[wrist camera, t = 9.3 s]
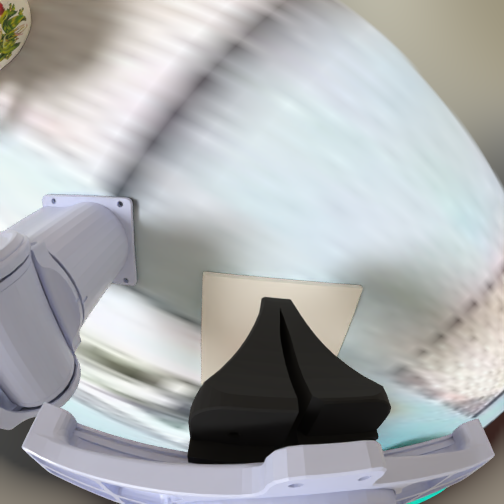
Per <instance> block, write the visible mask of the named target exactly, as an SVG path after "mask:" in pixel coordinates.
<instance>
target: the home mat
mask: <svg viewBox="0 0 504 504" xmlns="http://www.w3.org/2000/svg"><path fill="white" fill-rule="evenodd" d="M362 290H363V288H362V286H361V285H350V284H337V283H324V282H312V281H300V280H288V279H277V278H265V277H255V276H244V275H234V274H224V273H214V272H205V271H204V272H203V284H202V327H201V385H203V383H204V381H206V380H207V379H208V378H210V377H211V376H212V375H214V374H215V373H216V372H217V371H218V370H220V369H221V368H222V367H223V366H224V365H225V364H226V363H227V362H228V361H229V360H230V359H231V358H232V356H233V355H234V354H235V353H236V352H237V350H238V349H239V348H240V347H241V345H242V344H243V342H244V341H245V339H246V338H247V336H248V335H249V333H250V331H251V329H252V327H253V326H254V324H255V321H256V319H257V317H258V314H259V310H260V304H261V299H262V298H263V297H272V298H282V299H291V301H292V302H293V303H294V305H295V307H296V308H297V310H298V311H299V313H300V314H301V316H302V317H303V319H304V320H305V322H306V323H307V325H308V326H309V327H310V329H311V330H312V331H313V332H314V334H315V335H316V336H317V337H318V339H319V340H320V341H321V342H322V343H323V344H324V345H325V346H326V347H327V348H328V349H329V350H330V351H331V352H332V353H333V354H334V355H335V356H337V355H338V353H339V350H340V348H341V345H342V343H343V341H344V338H345V336H346V333H347V331H348V328H349V325H350V323H351V320H352V318H353V315H354V312H355V310H356V307H357V304H358V301H359V298H360V296H361V293H362Z"/></svg>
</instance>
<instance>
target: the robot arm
mask: <svg viewBox="0 0 504 504" xmlns="http://www.w3.org/2000/svg"><path fill="white" fill-rule="evenodd" d="M54 199H55V201H56V202H54ZM119 201H121V202H122V203H123V206H120V204H119ZM42 203H43V207H42V208H40V209H39V210H37V211H35V212H33V213H32V214H30V215H28V216H27V217H25V218H23V219H22V220H20V221H19V222H17V223H15V224H14V225H12V226H11V227H9V228H7V229H6V230H5V231H1V232H0V428H1V429H6V430H11V429H13V428H14V427H15V426H17V425H18V424H20V423H21V422H23V421H24V420H26V419H29V418H32V417H36V418H35V420H34V422H33V424H32V426H31V428H30V430H29V432H28V434H27V437H26V439H25V441H24V443H23V445H22V448H23V449H24V450H25V451H26V452H27V453H28V454H29V455H30V456H31V457H32V458H33V459H34V460H35V461H37V462H38V463H39V464H40V465H41V466H42V467H43V468H45V469H46V470H47V471H48V472H49V473H51V474H53V475H55V476H57V477H60V478H61V479H63V480H66V481H68V482H70V483H72V484H74V485H76V486H79V487H81V488H83V489H86V490H88V491H90V492H92V493H95V494H97V495H100V496H102V497H105V498H107V499H110V500H112V501H115V502H118V503H121V504H407V503H410V502H412V501H415V500H417V499H420V498H423V497H425V496H427V495H430V494H432V493H435V492H437V491H439V490H442V489H444V488H446V487H448V486H451V485H453V484H455V483H457V482H459V481H461V480H463V479H465V478H466V477H468V476H469V475H471V474H472V473H473V472H475V471H476V470H477V469H479V468H480V467H481V466H483V465H484V464H485V463H486V462H488V461H489V460H490V459H491V458H493V457H494V452H493V450H492V447H491V445H490V443H489V441H488V438H487V436H486V434H485V432H484V429H483V427H482V425H481V423H480V421H479V419H474V420H472V421H469V422H466V423H463V424H462V425H460V426H459V427H458V428H456V429H455V430H454V432H453V433H452V434H450V435H447V436H443V437H440V438H437V439H433V440H430V441H426V442H422V443H418V444H414V445H410V446H405V447H401V448H396V449H391V450H386V451H383V450H382V447H381V444H380V443H378V442H377V441H376V440H377V439H378V433H377V429H378V427H379V426H380V425H381V424H382V423H383V421H384V420H385V419H386V418H387V416H388V414H389V413H390V410H391V406H390V403H389V400H388V397H387V394H386V392H385V390H384V388H383V386H381V385H379V384H377V383H375V382H374V381H372V380H370V379H368V378H366V377H364V376H363V375H361V374H360V373H358V372H356V371H355V370H353V369H352V368H351V367H349V366H348V365H346V364H345V363H344V362H343V361H341V360H340V359H339V358H338V357H337V356H335V355H334V354H333V353H332V352H331V351H330V350H329V349H328V348H327V347H326V346H325V345H324V344H323V343H322V342H321V341H320V340H319V339H318V337H317V336H316V335H315V334H314V332H313V331H312V330H311V329H310V327H309V326H308V325H307V323H306V322H305V320H304V319H303V317H302V316H301V314H300V313H299V311H298V310H297V308H296V307H295V305H294V303H293V302H292V301H291V299H282V298H272V297H263V298H262V299H261V304H260V310H259V314H258V317H257V319H256V321H255V324H254V326H253V327H252V329H251V331H250V333H249V335H248V336H247V338H246V339H245V341H244V342H243V344H242V345H241V347H240V348H239V349H238V350H237V352H236V353H235V354H234V355H233V356H232V358H231V359H230V360H229V361H228V362H227V363H226V364H225V365H224V366H223V367H222V368H221V369H220V370H218V371H217V372H216V373H215V374H214V375H212V376H211V377H210V378H208V379H207V380H206V381H204V383H203V385H202V386H201V388H200V390H199V391H198V393H197V395H196V397H195V399H194V401H193V403H192V406H191V409H190V415H189V422H188V423H189V431H190V443H189V449H188V452H183V451H177V450H172V449H167V448H162V447H157V446H153V445H148V444H144V443H140V442H136V441H132V440H128V439H125V438H121V437H118V436H114V435H111V434H108V433H105V432H102V431H99V430H96V429H93V428H90V427H87V426H84V425H81V424H79V423H77V422H76V419H75V418H74V416H73V415H72V414H71V413H69V412H68V411H66V410H64V409H62V408H60V407H62V406H63V405H64V404H65V403H66V402H67V401H68V400H69V399H70V398H71V397H72V395H73V394H74V392H75V391H76V389H77V387H78V384H79V381H80V376H81V369H80V364H79V362H78V359H77V357H76V355H75V354H74V353H75V351H76V349H77V347H78V346H79V344H80V342H81V339H80V335H79V331H80V328H81V326H82V325H83V323H84V322H85V320H86V319H87V317H88V316H89V314H90V313H91V311H92V310H93V308H94V307H95V306H96V304H97V303H98V301H99V300H100V298H101V297H102V295H103V294H104V293H105V291H106V290H107V288H108V287H109V286H110V284H111V283H116V284H122V285H129V286H134V285H135V284H136V283H137V272H136V260H135V246H134V227H133V203H132V200H131V199H130V198H128V197H110V196H87V195H50V194H47V195H45V196H43V198H42ZM125 278H127V279H128V281H127V280H125Z"/></svg>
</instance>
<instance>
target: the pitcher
mask: <svg viewBox="0 0 504 504" xmlns="http://www.w3.org/2000/svg"><path fill="white" fill-rule="evenodd" d="M30 27H31V13H30V7H29V4H28V1H27V0H0V70H1V69H2V68H3V67H4V66H5V65H7V64H8V63H9V62H10V61H12V60H13V59H14V57H15V56H16V55H17V54H18V52H19V51H20V50H21V48H22V46H23V44H24V43H25V41H26V39H27V36H28V33H29V31H30Z"/></svg>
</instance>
